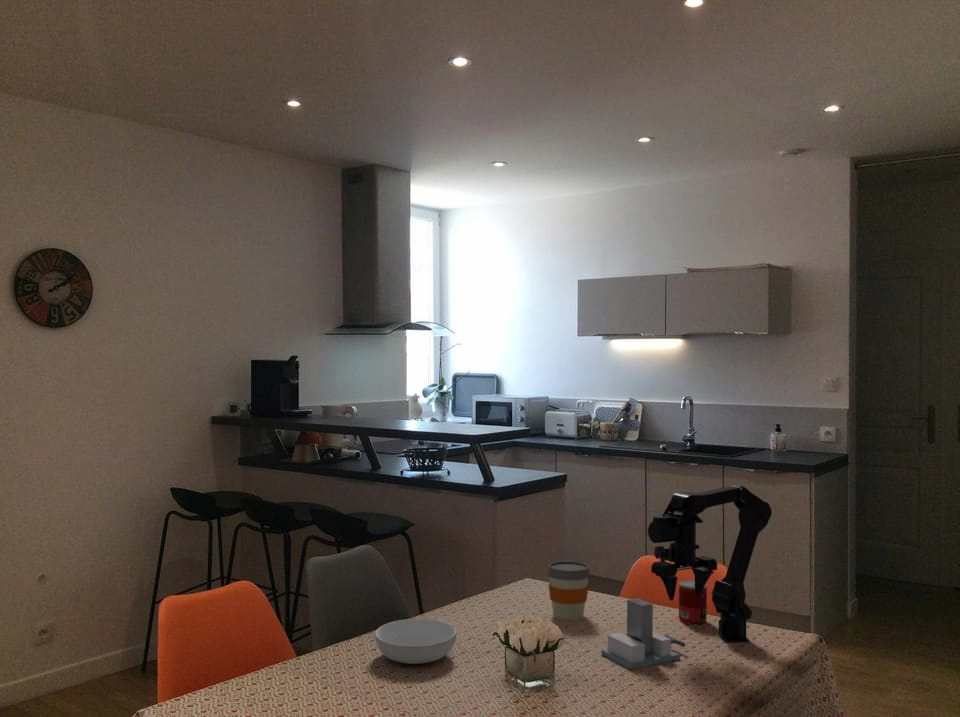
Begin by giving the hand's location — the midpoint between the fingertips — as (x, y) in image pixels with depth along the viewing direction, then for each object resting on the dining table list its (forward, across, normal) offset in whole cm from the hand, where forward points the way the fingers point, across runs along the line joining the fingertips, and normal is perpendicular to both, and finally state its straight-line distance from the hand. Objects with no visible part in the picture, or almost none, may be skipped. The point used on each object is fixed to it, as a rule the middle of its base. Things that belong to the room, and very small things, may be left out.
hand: (684, 598), depth 222 cm
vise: (+13, +14, +1) cm, 19 cm away
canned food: (+13, -18, -16) cm, 28 cm away
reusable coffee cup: (+13, +12, -37) cm, 41 cm away
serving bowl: (+13, +68, -25) cm, 73 cm away
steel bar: (+12, +16, +1) cm, 20 cm away
